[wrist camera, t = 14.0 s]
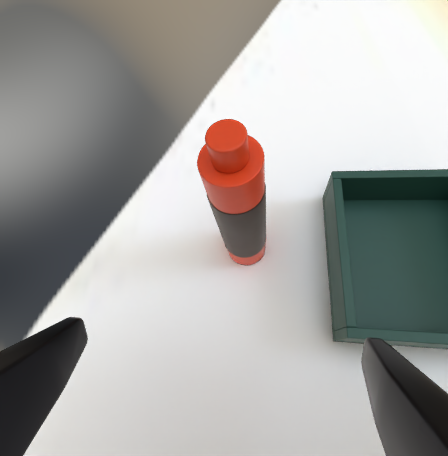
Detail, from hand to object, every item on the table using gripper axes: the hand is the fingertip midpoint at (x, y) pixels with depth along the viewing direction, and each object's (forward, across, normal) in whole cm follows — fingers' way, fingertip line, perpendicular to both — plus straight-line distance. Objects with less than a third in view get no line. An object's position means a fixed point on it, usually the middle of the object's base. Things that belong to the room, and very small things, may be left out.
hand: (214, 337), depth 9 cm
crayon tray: (+13, -11, +4) cm, 18 cm away
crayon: (+14, 0, +3) cm, 14 cm away
